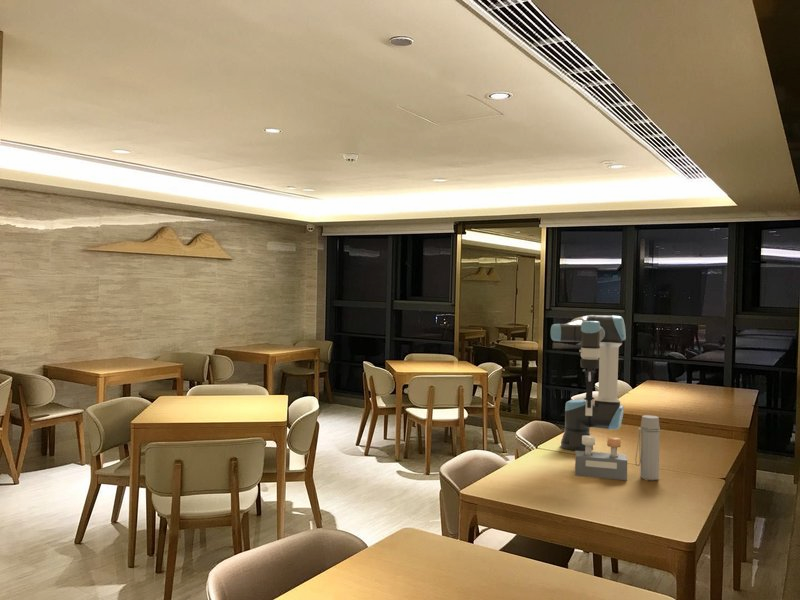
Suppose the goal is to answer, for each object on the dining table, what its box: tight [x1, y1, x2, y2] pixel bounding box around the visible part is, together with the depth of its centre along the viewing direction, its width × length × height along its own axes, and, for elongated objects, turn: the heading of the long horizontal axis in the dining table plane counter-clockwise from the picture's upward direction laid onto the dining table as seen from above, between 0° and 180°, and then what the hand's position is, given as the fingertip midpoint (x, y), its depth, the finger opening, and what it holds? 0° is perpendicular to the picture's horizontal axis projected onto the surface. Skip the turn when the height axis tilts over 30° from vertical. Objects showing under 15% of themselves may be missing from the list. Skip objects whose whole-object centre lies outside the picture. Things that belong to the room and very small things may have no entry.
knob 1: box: [582, 435, 596, 455], centre depth 265 cm, size 5×5×11 cm
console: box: [574, 451, 628, 481], centre depth 263 cm, size 10×20×8 cm, turn 74°
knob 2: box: [606, 436, 622, 458], centre depth 262 cm, size 5×5×11 cm
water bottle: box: [635, 414, 661, 481], centre depth 259 cm, size 9×8×25 cm
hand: (588, 415), depth 264 cm, fingers closed
